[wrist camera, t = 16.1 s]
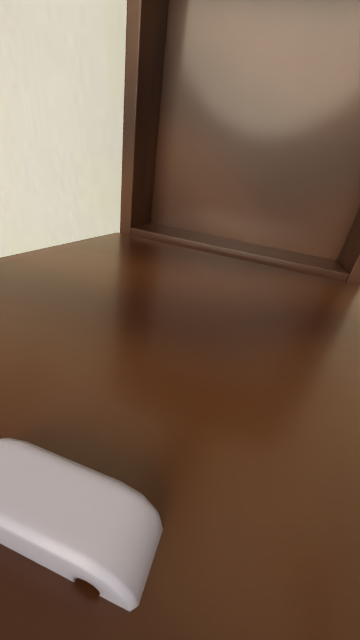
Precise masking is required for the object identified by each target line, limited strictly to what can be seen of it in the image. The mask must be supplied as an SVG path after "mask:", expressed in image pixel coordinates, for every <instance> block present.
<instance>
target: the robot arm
mask: <svg viewBox="0 0 360 640" xmlns="http://www.w3.org/2000/svg"><path fill="white" fill-rule="evenodd" d="M162 531H163V528H162V523H161V519H160V516H159V513H158V511H157V509H156V508H155V507H154V506H153V505H152V504H151V503H150V502H149V501H148V500H147V498H146V497H145V496H144V495H143V494H142V493H140V492H138V491H136V490H135V489H133V488H131V487H130V486H128V485H126V484H125V483H123V482H121V481H119V480H117V479H114V478H112V477H109V476H107V475H105V474H102V473H100V472H98V471H95V470H93V469H90V468H88V467H86V466H83V465H81V464H78V463H76V462H74V461H71V460H69V459H67V458H64V457H62V456H59V455H57V454H55V453H52V452H50V451H48V450H45V449H43V448H40V447H38V446H36V445H33V444H31V443H28V442H26V441H22V440H17V439H13V438H1V439H0V544H2V545H4V546H6V547H8V548H10V549H12V550H14V551H16V552H17V553H19V554H21V555H23V556H25V557H27V558H29V559H31V560H33V561H35V562H36V563H38V564H40V565H42V566H44V567H46V568H48V569H50V570H52V571H54V572H55V573H57V574H59V575H61V576H63V577H65V578H67V579H69V580H71V581H72V582H75V580H76V578H80V579H82V580H85V581H87V582H88V583H90V584H92V585H93V586H94V587H95V588H96V589H97V590H98V591H99V593H100V595H99V596H101V597H103V598H105V599H107V600H109V601H110V602H112V603H114V604H116V605H118V606H120V607H122V608H124V609H126V610H127V611H129V612H130V611H131V610H133V609H135V608H136V607H138V606H139V602H140V599H141V596H142V593H143V590H144V587H145V584H146V581H147V578H148V575H149V571H150V568H151V565H152V562H153V559H154V556H155V553H156V550H157V547H158V544H159V540H160V537H161V534H162Z"/></svg>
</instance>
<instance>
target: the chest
mask: <svg viewBox="0 0 360 640" xmlns="http://www.w3.org/2000/svg"><path fill="white" fill-rule="evenodd" d="M120 233H121V234H125V235H130V236H135V237H139V238H144V239H148V240H153V241H158V242H162V243H167V244H171V245H176V246H181V247H185V248H190V249H194V250H199V251H204V252H208V253H213V254H217V255H222V256H227V257H231V258H236V259H240V260H245V261H250V262H254V263H259V264H263V265H268V266H272V267H277V268H282V269H286V270H291V271H295V272H300V273H305V274H309V275H314V276H318V277H323V278H328V279H332V280H337V281H341V282H346V283H351V284H355V285H360V0H127V24H126V57H125V90H124V123H123V155H122V188H121V221H120Z"/></svg>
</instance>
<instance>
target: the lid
mask: <svg viewBox="0 0 360 640" xmlns="http://www.w3.org/2000/svg"><path fill="white" fill-rule="evenodd" d="M1 438H13V439H17V440H22V441H26V442H28V443H31V444H33V445H36V446H38V447H40V448H43V449H45V450H48V451H50V452H52V453H55V454H57V455H59V456H62V457H64V458H67V459H69V460H71V461H74V462H76V463H78V464H81V465H83V466H86V467H88V468H90V469H93V470H95V471H98V472H100V473H102V474H105V475H107V476H109V477H112V478H114V479H117V480H119V481H121V482H123V483H125V484H126V485H128V486H130V487H131V488H133V489H135V490H136V491H138V492H140V493H142V494H143V495H144V496H145V497H146V498H147V500H148V501H149V502H150V503H151V504H152V505H153V506H154V507H155V508H156V509H157V511H158V513H159V516H160V519H161V523H162V528H163V531H162V534H161V537H160V540H159V544H158V547H157V550H156V553H155V556H154V559H153V562H152V565H151V568H150V571H149V575H148V578H147V581H146V584H145V587H144V590H143V593H142V596H141V599H140V602H139V606H138V607H136V608H135V609H133V610H131V611H130V612H129V611H127V610H126V609H124V608H122V607H120V606H118V605H116V604H114V603H112V602H110V601H109V600H107V599H105V598H103V597H101V596H99V595H100V593H99V591H98V590H97V589H96V588H95V587H94V586H93V585H92V584H90V583H88V582H87V581H85V580H82V579H80V578H76V580H75V582H72V581H71V580H69V579H67V578H65V577H63V576H61V575H59V574H57V573H55V572H54V571H52V570H50V569H48V568H46V567H44V566H42V565H40V564H38V563H36V562H35V561H33V560H31V559H29V558H27V557H25V556H23V555H21V554H19V553H17V552H16V551H14V550H12V549H10V548H8V547H6V546H4V545H2V544H0V640H360V285H355V284H351V283H346V282H341V281H337V280H332V279H328V278H323V277H318V276H314V275H309V274H305V273H300V272H295V271H291V270H286V269H282V268H277V267H272V266H268V265H263V264H259V263H254V262H250V261H245V260H240V259H236V258H231V257H227V256H222V255H217V254H213V253H208V252H204V251H199V250H194V249H190V248H185V247H181V246H176V245H171V244H167V243H162V242H158V241H153V240H148V239H144V238H139V237H135V236H130V235H125V234H121V233H113V234H108V235H104V236H99V237H94V238H90V239H85V240H81V241H76V242H71V243H67V244H62V245H58V246H53V247H48V248H44V249H39V250H34V251H30V252H25V253H21V254H16V255H11V256H7V257H2V258H0V439H1Z"/></svg>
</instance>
